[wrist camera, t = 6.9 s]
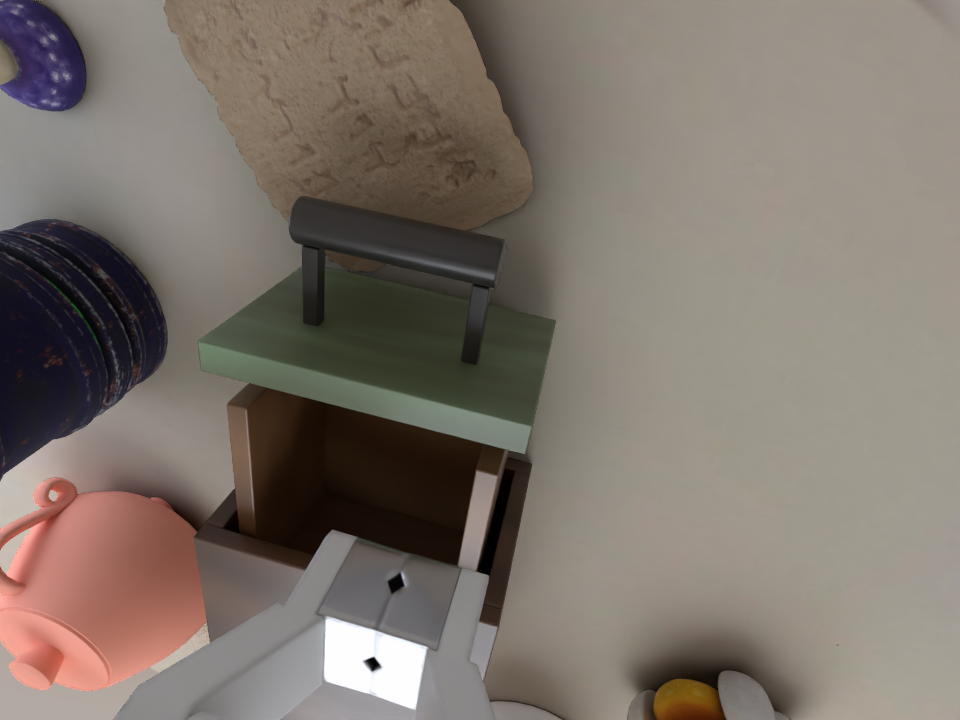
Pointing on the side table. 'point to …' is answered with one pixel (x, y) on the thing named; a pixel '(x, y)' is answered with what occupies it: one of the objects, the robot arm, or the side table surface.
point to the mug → (519, 712)
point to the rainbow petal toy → (705, 701)
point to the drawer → (378, 390)
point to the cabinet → (277, 570)
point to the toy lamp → (39, 57)
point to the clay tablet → (359, 106)
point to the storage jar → (68, 333)
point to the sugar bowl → (97, 587)
